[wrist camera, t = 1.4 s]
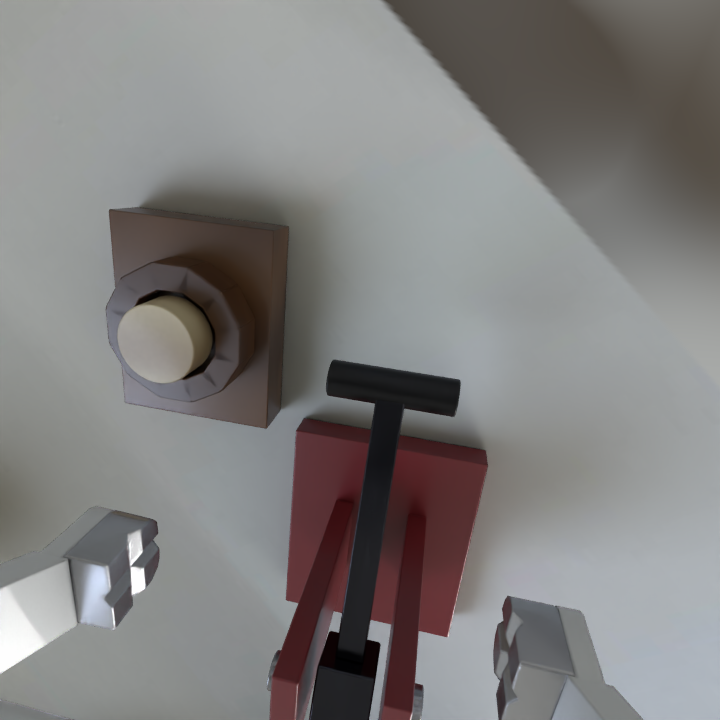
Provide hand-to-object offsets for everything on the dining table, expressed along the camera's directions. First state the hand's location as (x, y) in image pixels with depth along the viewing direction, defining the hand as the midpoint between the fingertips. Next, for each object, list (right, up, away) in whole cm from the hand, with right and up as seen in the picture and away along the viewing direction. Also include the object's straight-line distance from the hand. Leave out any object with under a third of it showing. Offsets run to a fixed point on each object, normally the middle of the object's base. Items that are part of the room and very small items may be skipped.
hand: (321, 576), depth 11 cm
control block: (-7, +7, +15) cm, 18 cm away
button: (-8, +6, +11) cm, 15 cm away
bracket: (+2, -5, +17) cm, 18 cm away
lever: (+1, -2, +9) cm, 9 cm away
